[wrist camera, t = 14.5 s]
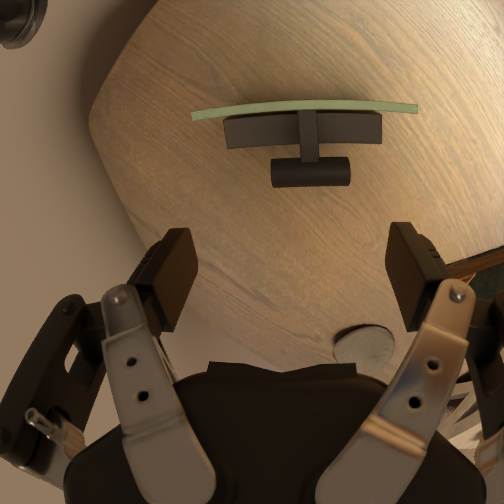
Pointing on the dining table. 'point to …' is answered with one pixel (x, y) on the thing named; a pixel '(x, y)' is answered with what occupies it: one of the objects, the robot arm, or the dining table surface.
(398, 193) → the dining table surface
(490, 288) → the book
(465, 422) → the wooden side table
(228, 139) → the stand
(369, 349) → the seashell
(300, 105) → the sign
